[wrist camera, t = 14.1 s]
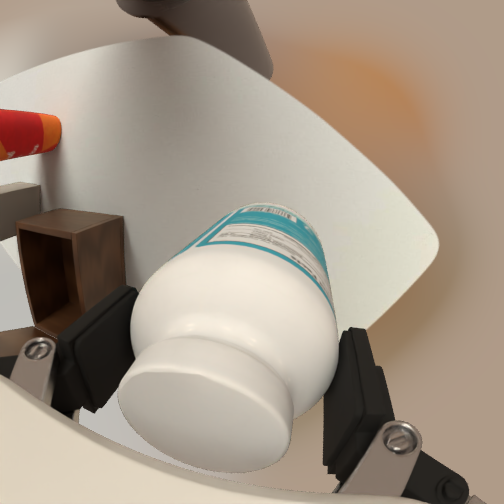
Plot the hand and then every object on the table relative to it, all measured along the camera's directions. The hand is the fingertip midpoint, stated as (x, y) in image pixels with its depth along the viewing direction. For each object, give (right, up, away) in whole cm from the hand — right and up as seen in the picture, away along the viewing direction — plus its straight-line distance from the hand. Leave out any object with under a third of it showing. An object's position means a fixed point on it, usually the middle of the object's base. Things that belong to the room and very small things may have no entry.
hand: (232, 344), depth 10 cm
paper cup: (-29, +21, +22) cm, 42 cm away
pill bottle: (+2, +3, +9) cm, 10 cm away
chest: (-22, +1, +26) cm, 34 cm away
